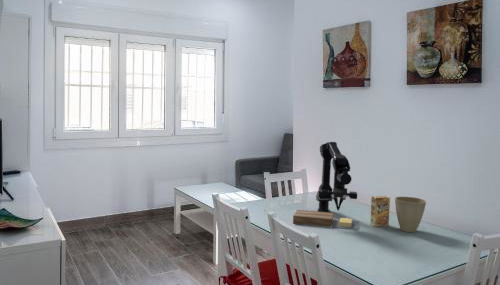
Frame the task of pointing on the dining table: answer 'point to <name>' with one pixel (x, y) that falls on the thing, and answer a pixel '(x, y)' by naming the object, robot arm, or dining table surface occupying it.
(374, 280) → the dining table surface
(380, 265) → the dining table surface
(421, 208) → the plant pot
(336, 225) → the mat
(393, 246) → the dining table surface
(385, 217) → the candy box
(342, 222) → the yellow rectangular block
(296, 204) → the dining table surface
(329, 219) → the brown wooden flat block
